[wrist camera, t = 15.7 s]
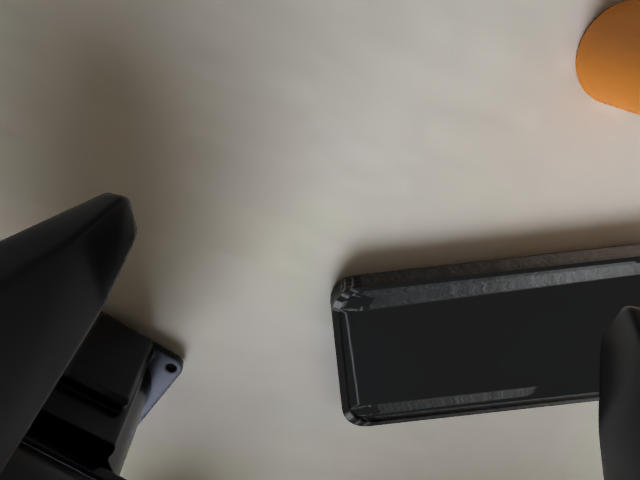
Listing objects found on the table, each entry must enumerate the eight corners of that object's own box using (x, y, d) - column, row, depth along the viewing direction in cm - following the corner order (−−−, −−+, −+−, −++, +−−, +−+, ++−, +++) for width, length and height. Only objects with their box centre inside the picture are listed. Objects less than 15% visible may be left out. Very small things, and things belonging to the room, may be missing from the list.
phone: (329, 291, 23) (679, 252, 23) (327, 278, 24) (663, 241, 24) (344, 430, 26) (650, 397, 26) (342, 413, 27) (637, 381, 27)
